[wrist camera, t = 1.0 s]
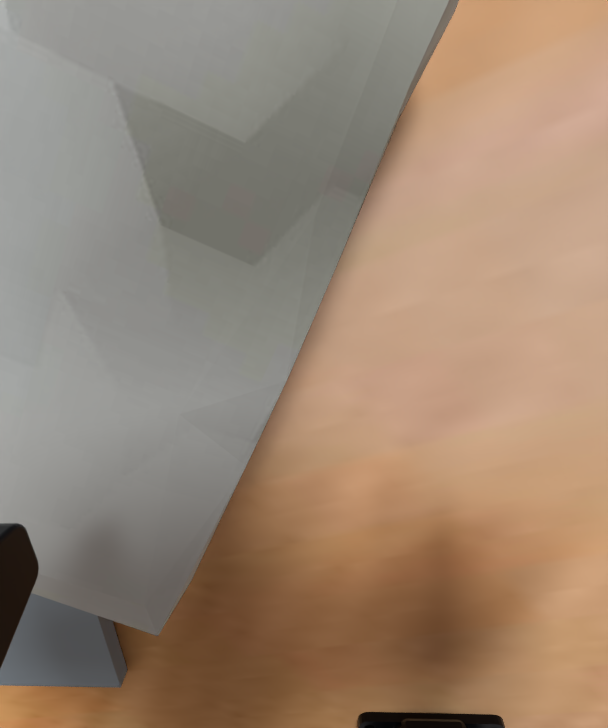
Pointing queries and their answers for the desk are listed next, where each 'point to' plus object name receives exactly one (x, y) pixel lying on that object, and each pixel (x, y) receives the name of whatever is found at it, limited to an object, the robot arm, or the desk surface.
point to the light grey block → (171, 257)
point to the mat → (63, 648)
